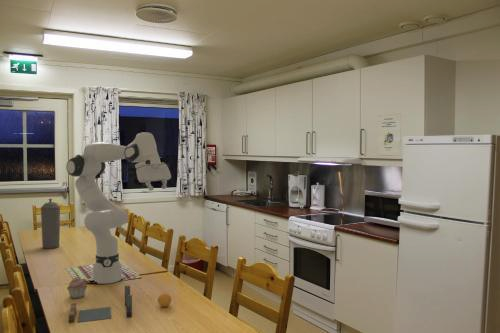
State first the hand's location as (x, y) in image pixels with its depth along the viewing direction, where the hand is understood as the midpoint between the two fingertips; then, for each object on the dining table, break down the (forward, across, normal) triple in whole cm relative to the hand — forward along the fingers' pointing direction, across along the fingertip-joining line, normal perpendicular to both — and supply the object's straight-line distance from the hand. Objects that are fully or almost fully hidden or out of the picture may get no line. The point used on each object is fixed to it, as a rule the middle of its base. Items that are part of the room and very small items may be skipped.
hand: (158, 189), depth 208 cm
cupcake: (+40, +25, -45) cm, 65 cm away
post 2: (+52, +29, -8) cm, 60 cm away
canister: (+7, -29, -140) cm, 144 cm away
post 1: (+49, +20, -17) cm, 56 cm away
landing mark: (+48, +35, -21) cm, 63 cm away
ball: (+51, +12, -2) cm, 53 cm away
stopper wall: (+46, +41, -27) cm, 67 cm away
